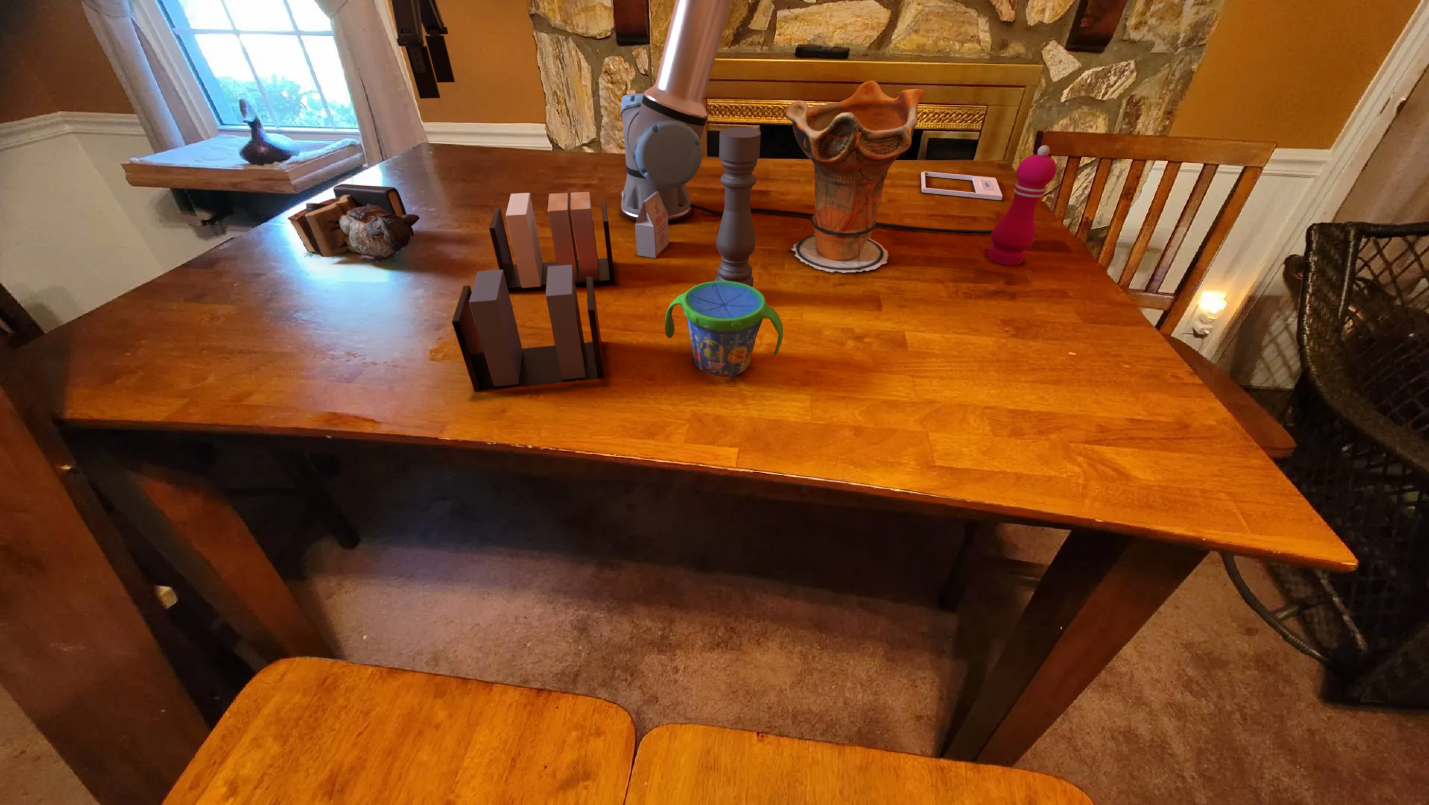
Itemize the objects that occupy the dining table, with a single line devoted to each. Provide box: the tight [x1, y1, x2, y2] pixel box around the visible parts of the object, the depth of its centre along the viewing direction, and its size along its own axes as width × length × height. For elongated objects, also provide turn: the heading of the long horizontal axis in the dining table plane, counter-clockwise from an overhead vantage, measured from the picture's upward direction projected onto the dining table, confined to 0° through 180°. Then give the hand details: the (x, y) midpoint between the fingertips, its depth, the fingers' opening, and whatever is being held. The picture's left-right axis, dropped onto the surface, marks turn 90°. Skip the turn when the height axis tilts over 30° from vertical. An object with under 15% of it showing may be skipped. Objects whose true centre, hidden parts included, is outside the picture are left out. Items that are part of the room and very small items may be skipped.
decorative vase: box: [785, 80, 925, 274], centre depth 96 cm, size 21×23×28 cm
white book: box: [505, 192, 544, 288], centre depth 91 cm, size 3×10×12 cm, turn 11°
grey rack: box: [451, 276, 605, 393], centre depth 71 cm, size 16×9×11 cm, turn 101°
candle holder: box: [715, 126, 762, 288], centre depth 83 cm, size 6×6×25 cm
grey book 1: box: [469, 269, 523, 387], centre depth 69 cm, size 3×8×12 cm, turn 11°
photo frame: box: [920, 170, 1003, 201], centre depth 137 cm, size 15×1×18 cm
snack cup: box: [664, 280, 784, 380], centre depth 73 cm, size 16×10×10 cm
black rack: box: [488, 191, 616, 294], centre depth 92 cm, size 18×9×13 cm, turn 101°
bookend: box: [287, 183, 421, 263], centre depth 100 cm, size 15×11×25 cm
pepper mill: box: [986, 144, 1058, 266], centre depth 98 cm, size 7×7×20 cm
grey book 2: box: [545, 265, 586, 380], centre depth 71 cm, size 3×8×12 cm, turn 11°
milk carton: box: [634, 191, 670, 259], centre depth 102 cm, size 4×7×10 cm, turn 163°
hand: (438, 89), depth 87 cm, fingers open, 13 cm apart
